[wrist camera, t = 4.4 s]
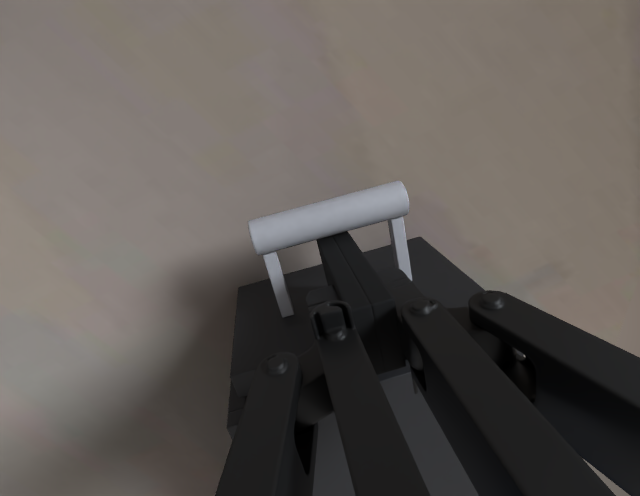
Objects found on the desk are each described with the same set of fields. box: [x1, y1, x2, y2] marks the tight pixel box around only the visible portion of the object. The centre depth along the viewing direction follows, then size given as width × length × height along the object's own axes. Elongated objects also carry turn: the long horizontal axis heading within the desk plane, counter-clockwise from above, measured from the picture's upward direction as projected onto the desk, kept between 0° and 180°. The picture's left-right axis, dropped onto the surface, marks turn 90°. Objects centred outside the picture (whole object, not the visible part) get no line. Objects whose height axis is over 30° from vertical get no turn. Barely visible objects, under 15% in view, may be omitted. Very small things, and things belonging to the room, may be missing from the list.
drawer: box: [230, 181, 485, 398], centre depth 21 cm, size 20×11×8 cm, turn 13°
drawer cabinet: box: [227, 350, 523, 496], centre depth 23 cm, size 17×13×10 cm
